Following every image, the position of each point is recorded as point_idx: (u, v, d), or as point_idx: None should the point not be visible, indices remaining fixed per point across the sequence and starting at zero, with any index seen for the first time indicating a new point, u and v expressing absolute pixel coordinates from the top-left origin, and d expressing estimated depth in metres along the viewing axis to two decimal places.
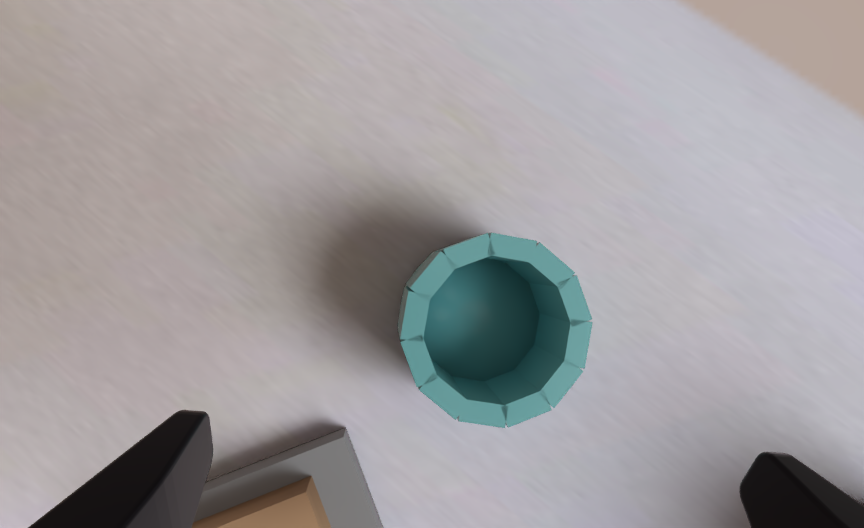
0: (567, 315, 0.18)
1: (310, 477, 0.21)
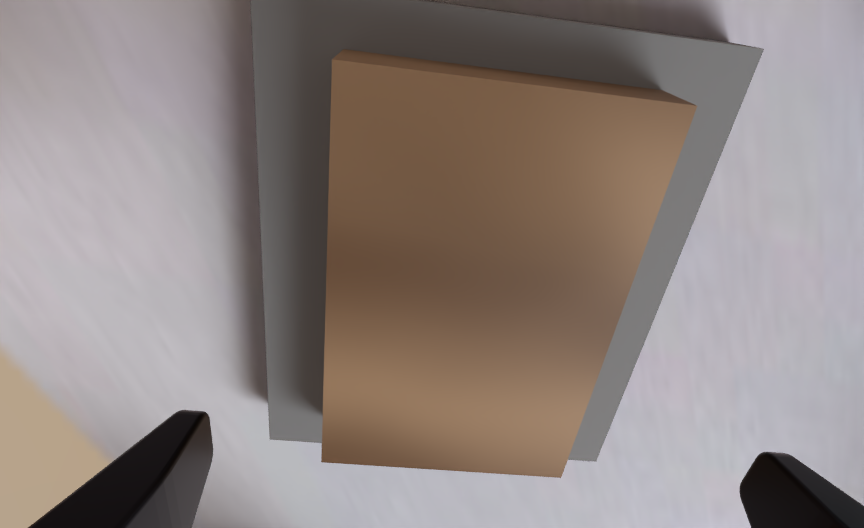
0: None
1: (664, 91, 0.10)
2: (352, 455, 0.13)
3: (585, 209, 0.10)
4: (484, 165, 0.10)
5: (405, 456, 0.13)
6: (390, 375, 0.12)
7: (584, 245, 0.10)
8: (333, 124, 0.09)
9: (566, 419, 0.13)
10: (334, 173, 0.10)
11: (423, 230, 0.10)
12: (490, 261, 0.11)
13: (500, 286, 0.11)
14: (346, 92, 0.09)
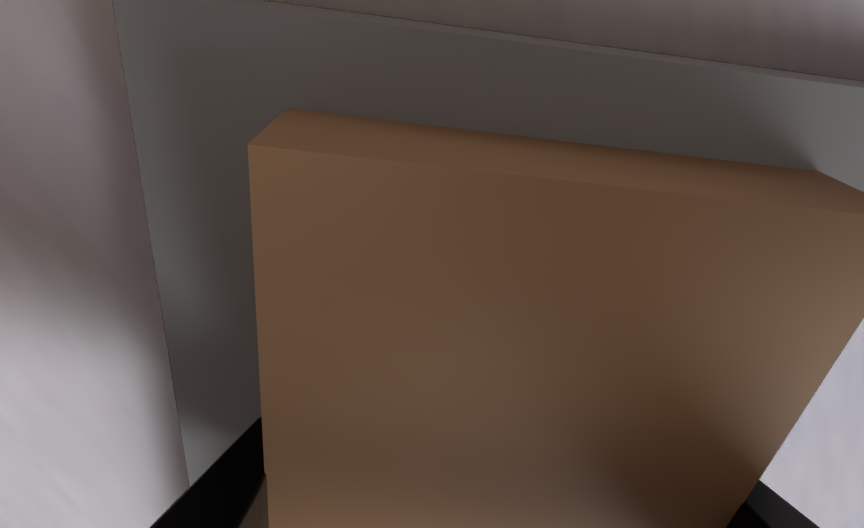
0: None
1: (825, 175, 0.06)
2: None
3: (699, 379, 0.06)
4: (531, 316, 0.05)
5: None
6: None
7: (690, 429, 0.06)
8: (258, 255, 0.05)
9: None
10: (266, 331, 0.05)
11: (423, 410, 0.06)
12: (533, 451, 0.06)
13: (547, 484, 0.07)
14: (279, 202, 0.05)
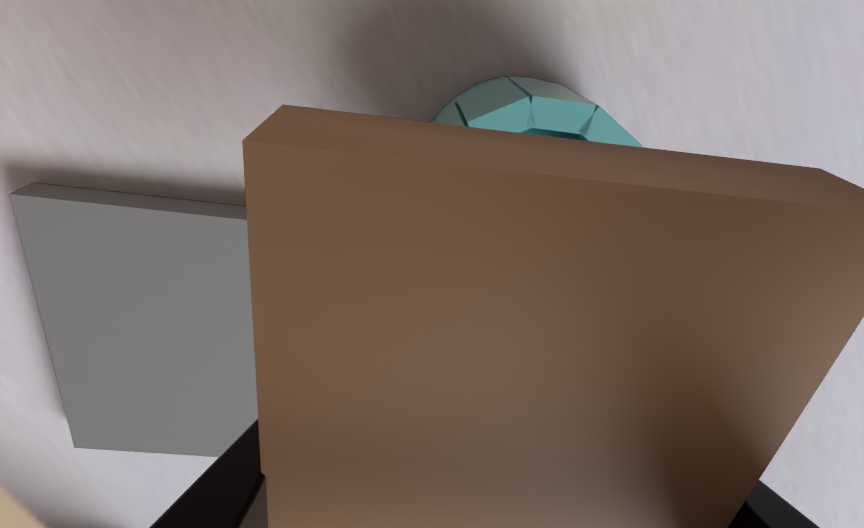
0: None
1: (826, 173, 0.06)
2: None
3: (699, 378, 0.06)
4: (529, 313, 0.05)
5: None
6: None
7: (690, 428, 0.06)
8: (254, 252, 0.05)
9: None
10: (262, 329, 0.05)
11: (420, 409, 0.06)
12: (532, 450, 0.06)
13: (546, 483, 0.07)
14: (274, 198, 0.05)
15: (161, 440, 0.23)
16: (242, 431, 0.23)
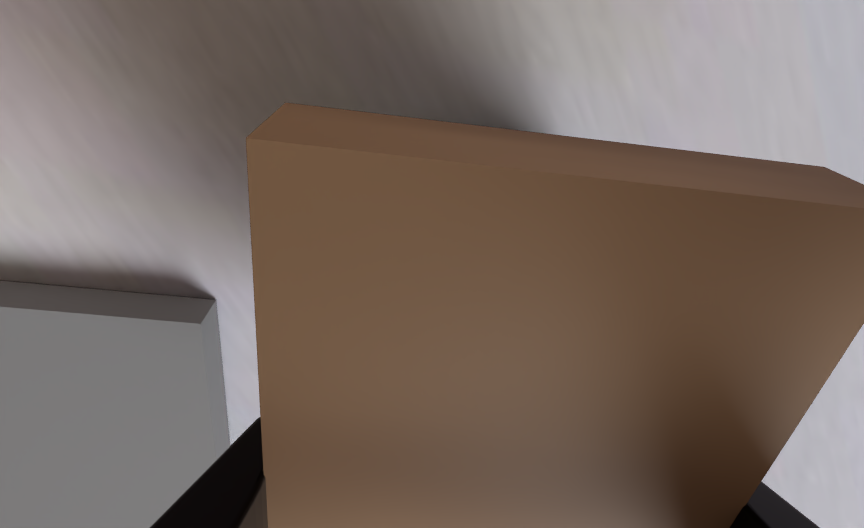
0: None
1: (830, 171, 0.06)
2: None
3: (703, 377, 0.06)
4: (533, 312, 0.05)
5: None
6: None
7: (694, 427, 0.06)
8: (257, 250, 0.05)
9: None
10: (265, 328, 0.05)
11: (424, 408, 0.06)
12: (536, 450, 0.06)
13: (550, 482, 0.07)
14: (278, 196, 0.05)
15: None
16: None
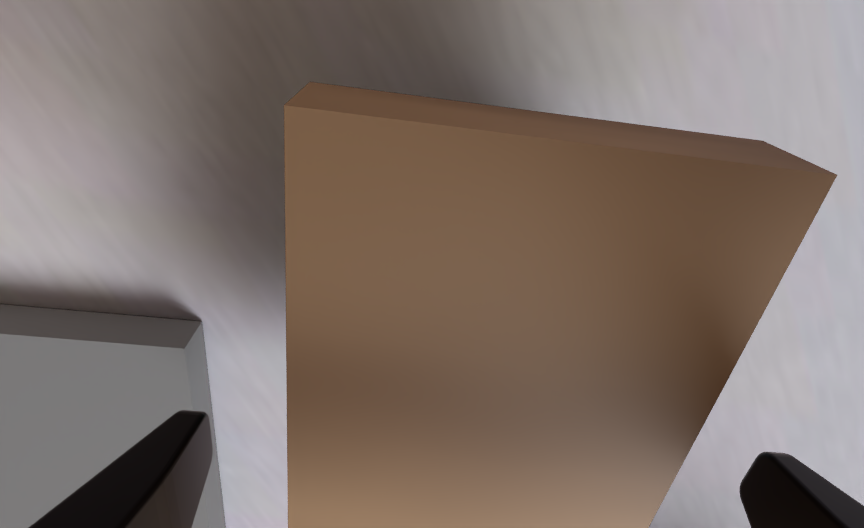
0: None
1: (766, 144, 0.07)
2: None
3: (657, 314, 0.07)
4: (514, 255, 0.06)
5: None
6: (379, 513, 0.09)
7: (651, 359, 0.07)
8: (289, 199, 0.06)
9: None
10: (293, 266, 0.06)
11: (423, 340, 0.07)
12: (518, 379, 0.07)
13: (530, 410, 0.08)
14: (307, 154, 0.06)
15: None
16: None
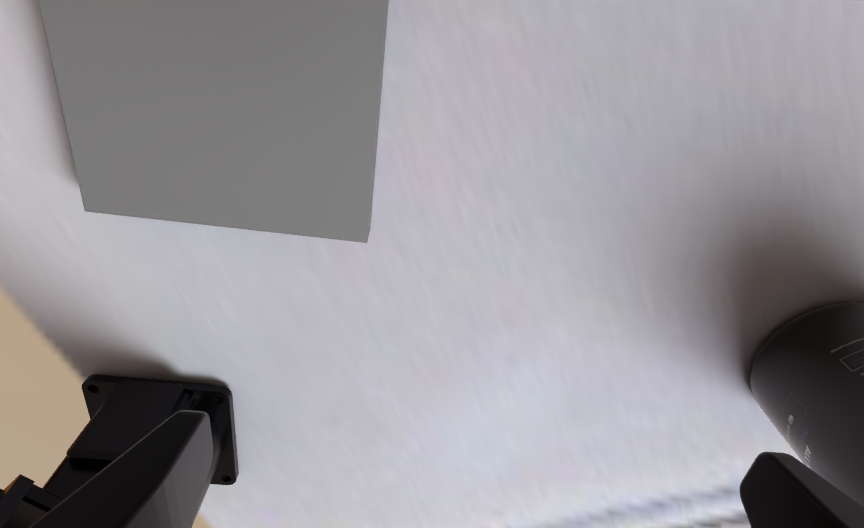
0: None
1: None
2: None
3: None
4: None
5: None
6: None
7: None
8: None
9: None
10: None
11: None
12: None
13: None
14: None
15: (192, 202, 0.18)
16: (295, 191, 0.18)
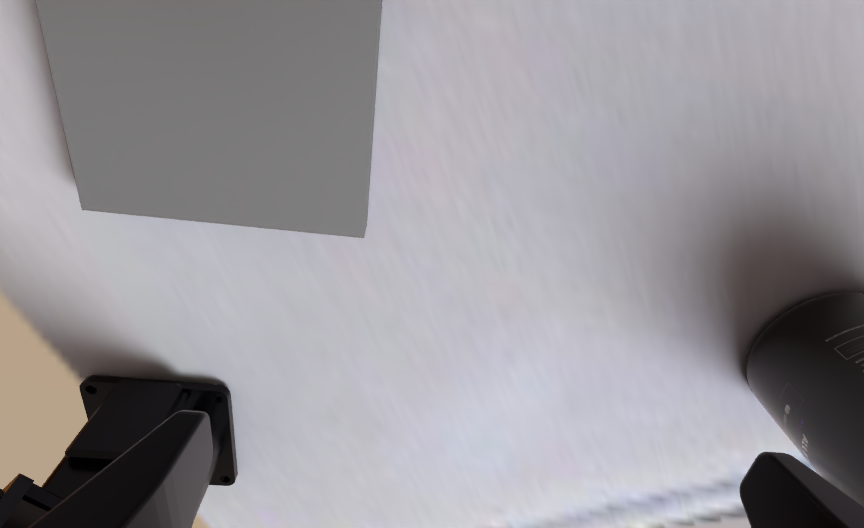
0: None
1: None
2: None
3: None
4: None
5: None
6: None
7: None
8: None
9: None
10: None
11: None
12: None
13: None
14: None
15: (189, 199, 0.18)
16: (291, 187, 0.18)
